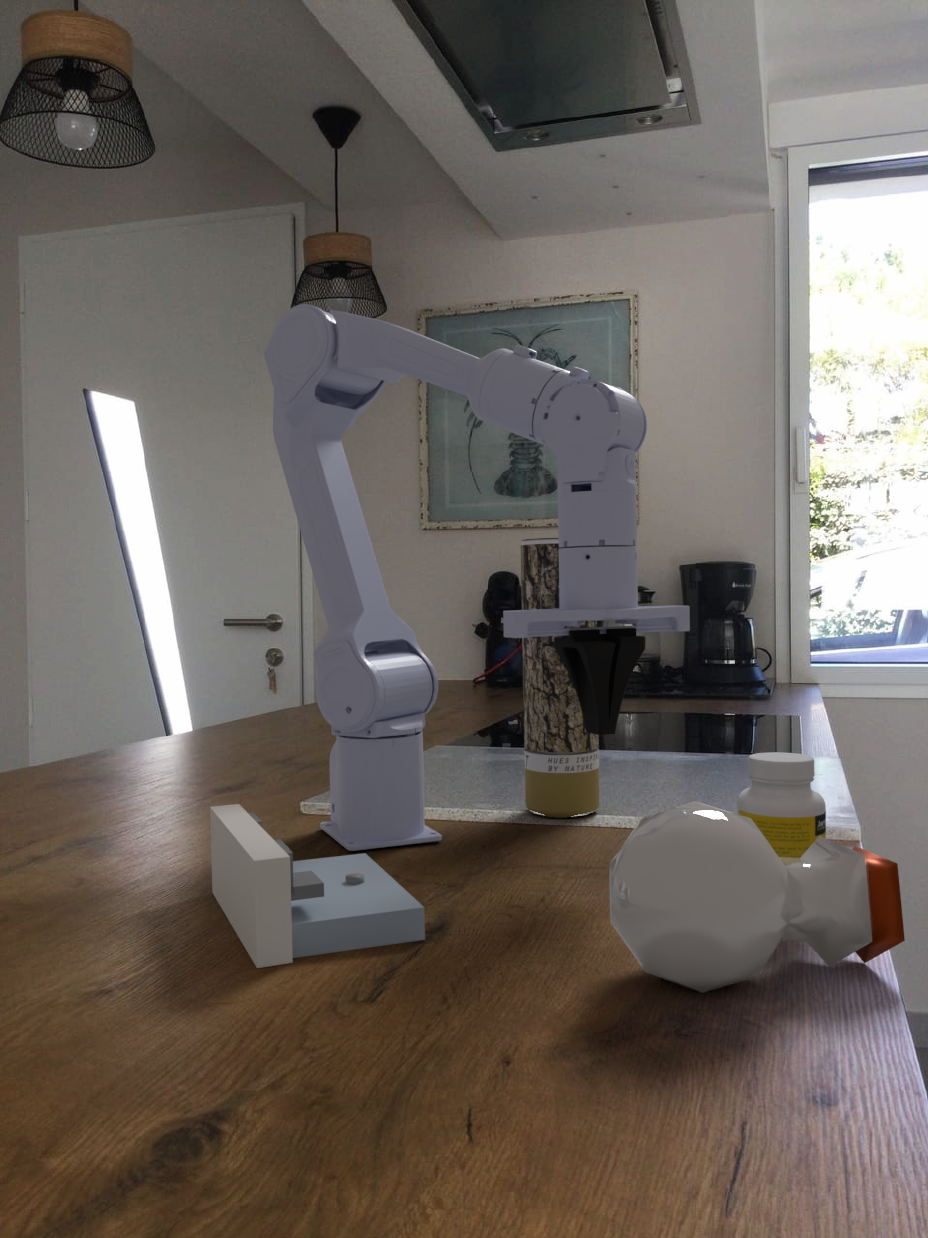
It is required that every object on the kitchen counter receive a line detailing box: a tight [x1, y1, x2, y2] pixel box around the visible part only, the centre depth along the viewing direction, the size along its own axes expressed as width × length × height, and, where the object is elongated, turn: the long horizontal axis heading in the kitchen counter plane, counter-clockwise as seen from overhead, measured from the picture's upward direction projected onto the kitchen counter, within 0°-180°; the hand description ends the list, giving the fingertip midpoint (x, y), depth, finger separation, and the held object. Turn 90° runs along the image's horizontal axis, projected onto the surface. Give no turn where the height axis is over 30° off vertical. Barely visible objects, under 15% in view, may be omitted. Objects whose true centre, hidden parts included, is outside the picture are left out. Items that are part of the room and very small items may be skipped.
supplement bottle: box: [736, 751, 827, 858], centre depth 67 cm, size 5×5×10 cm
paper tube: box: [520, 537, 600, 819], centre depth 97 cm, size 7×7×25 cm
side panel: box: [209, 803, 324, 969], centre depth 67 cm, size 16×4×6 cm, turn 22°
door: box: [291, 853, 426, 959], centre depth 68 cm, size 14×8×3 cm, turn 20°
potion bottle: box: [608, 800, 906, 994], centre depth 56 cm, size 9×10×15 cm
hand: (600, 733), depth 78 cm, fingers closed
